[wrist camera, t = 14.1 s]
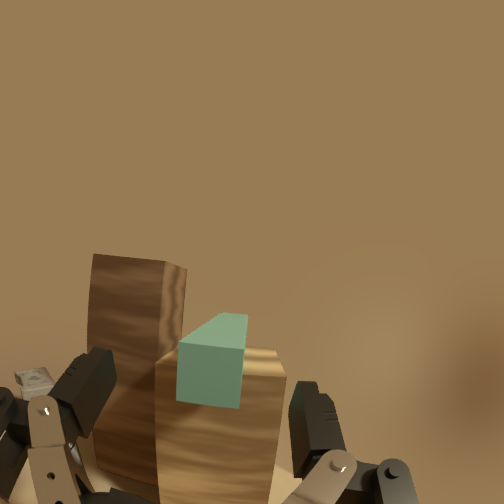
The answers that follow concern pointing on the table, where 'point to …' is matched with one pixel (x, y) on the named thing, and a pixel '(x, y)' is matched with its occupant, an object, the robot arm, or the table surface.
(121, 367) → the walnut stand
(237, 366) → the bar
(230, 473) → the oak block
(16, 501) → the table surface
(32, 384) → the grey speckled block
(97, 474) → the table surface
